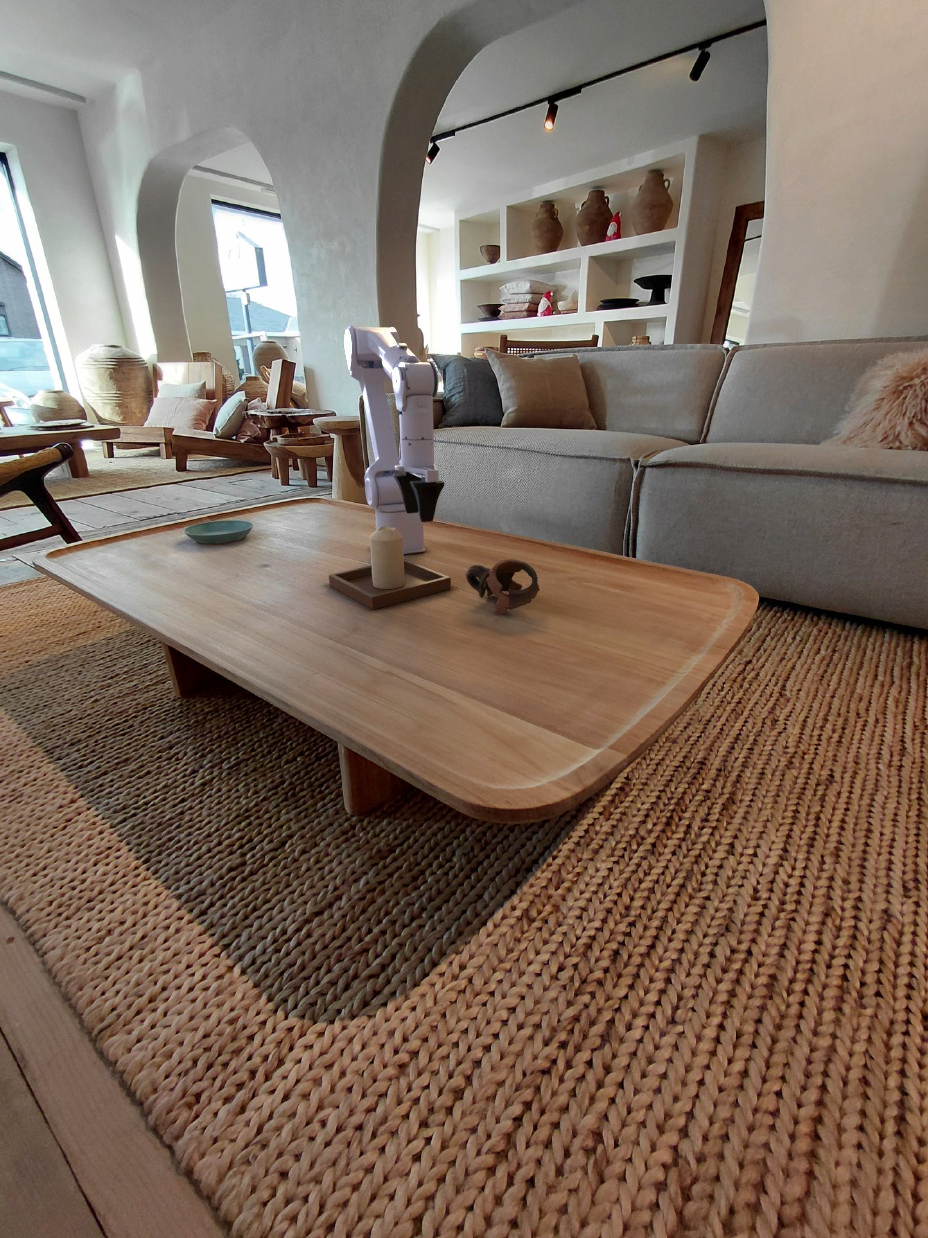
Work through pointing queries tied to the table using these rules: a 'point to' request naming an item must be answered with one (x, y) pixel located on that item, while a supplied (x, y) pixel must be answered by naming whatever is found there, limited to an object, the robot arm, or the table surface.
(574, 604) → the table surface
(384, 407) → the robot arm
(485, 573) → the leather belt
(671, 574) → the table surface
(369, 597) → the tray
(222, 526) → the saucer
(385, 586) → the candle
